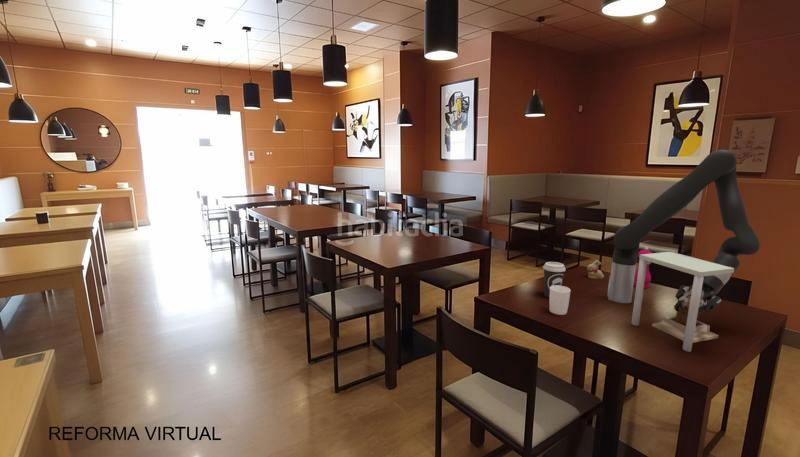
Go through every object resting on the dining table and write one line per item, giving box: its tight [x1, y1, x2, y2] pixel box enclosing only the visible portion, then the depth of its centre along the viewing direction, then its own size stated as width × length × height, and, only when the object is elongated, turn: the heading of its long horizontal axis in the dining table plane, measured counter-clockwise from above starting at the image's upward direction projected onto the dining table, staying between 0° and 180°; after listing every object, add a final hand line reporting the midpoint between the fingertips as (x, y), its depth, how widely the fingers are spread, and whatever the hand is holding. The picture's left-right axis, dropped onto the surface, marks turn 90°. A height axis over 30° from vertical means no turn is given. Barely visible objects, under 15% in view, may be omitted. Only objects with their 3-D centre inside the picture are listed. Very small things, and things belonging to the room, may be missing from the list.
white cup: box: [548, 285, 572, 316], centre depth 157 cm, size 8×8×10 cm
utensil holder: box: [675, 296, 690, 326], centre depth 139 cm, size 6×6×12 cm
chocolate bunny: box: [586, 259, 605, 280], centre depth 200 cm, size 6×8×10 cm
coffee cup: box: [542, 261, 567, 298], centre depth 174 cm, size 10×10×15 cm
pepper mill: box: [633, 246, 653, 289], centre depth 186 cm, size 7×7×20 cm
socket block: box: [651, 315, 719, 343], centre depth 140 cm, size 14×14×4 cm
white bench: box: [631, 251, 735, 353], centre depth 136 cm, size 15×22×28 cm
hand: (683, 313), depth 138 cm, fingers closed on utensil holder, 5 cm apart
